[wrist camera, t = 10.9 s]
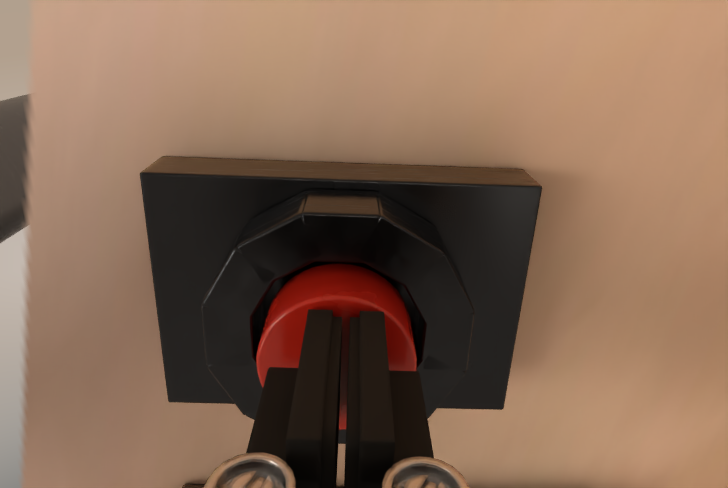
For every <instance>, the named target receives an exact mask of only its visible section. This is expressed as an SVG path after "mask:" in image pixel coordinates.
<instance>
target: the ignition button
mask: <svg viewBox="0 0 728 488" xmlns="http://www.w3.org/2000/svg"><path fill="white" fill-rule="evenodd" d="M308 309H318V310H333V316H335V317H342V341H341V377H340V412H339V430H341V429H346V418H347V389H348V360H349V331H350V317H359V314H360V311H382V312H384V316H385V328H386V340H387V352H388V364H389V370H391V371H416V368H417V357H416V350H415V344H414V339H413V333H412V328H411V322H410V317H409V312H408V309H407V306H406V304H405V302H404V300H403V298H402V296H401V295H400V293H399V292H398V291H397V289H396V288H395V287H394V286H393V285H392V284H391V283H390V282H389V281H387V280H386V279H385V278H383V277H382V276H380V275H379V274H377V273H375V272H373V271H371V270H369V269H366V268H363V267H360V266H356V265H351V264H342V263H336V264H325V265H320V266H316V267H312V268H310V269H307V270H305V271H303V272H301V273H299V274H297V275H296V276H294V277H293V278H291V279H290V280H289V281H287V282H286V283H285V284H284V285H283V286H282V287H281V288H280V290H279V291H278V292H277V294H276V295H275V297H274V299H273V301H272V302H271V305H270V308H269V311H268V314H267V318H266V321H265V324H264V328H263V331H262V335H261V338H260V342H259V345H258V350H257V355H256V366H257V373H258V377H259V380H260V383H261V385H262V387H263V386H264V382H265V379H266V375H267V371H268V368H269V367H286V368H298V366H299V360H300V354H301V348H302V343H303V337H304V331H305V325H306V319H307V314H308Z"/></svg>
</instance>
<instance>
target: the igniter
mask: <svg viewBox="0 0 728 488" xmlns="http://www.w3.org/2000/svg"><path fill="white" fill-rule="evenodd" d="M140 178H141V186H142V194H143V202H144V210H145V218H146V226H147V234H148V242H149V250H150V258H151V266H152V274H153V283H154V291H155V299H156V307H157V315H158V323H159V331H160V339H161V347H162V355H163V363H164V371H165V379H166V387H167V395H168V401H169V402H184V403H229V404H236V406H237V407H238V408H239V409H240V411H241V412H242V413H243V414H244V415H246V416H247V417H250V418H252V419H254V420H255V417H256V414H257V410H258V406H259V402H260V398H261V394H262V390H263V387H262V385H261V383H260V380H259V377H258V373H257V366H256V355H257V350H258V345H259V342H260V338H261V335H262V331H263V328H264V324H265V321H266V318H267V314H268V311H269V308H270V305H271V302H272V301H273V299H274V297H275V295H276V294H277V292H278V291H279V290H280V288H281V287H282V286H283V285H284V284H285V283H286V282H287V281H289V280H290V279H291V278H293V277H294V276H296V275H297V274H299V273H301V272H303V271H305V270H307V269H310V268H312V267H316V266H320V265H325V264H336V263H342V264H351V265H356V266H360V267H363V268H366V269H369V270H371V271H373V272H375V273H377V274H379V275H380V276H382V277H383V278H385V279H386V280H387V281H389V282H390V283H391V284H392V285H393V286H394V287H395V288H396V289H397V291H398V292H399V293H400V295H401V296H402V298H403V300H404V302H405V304H406V306H407V309H408V312H409V317H410V322H411V328H412V333H413V339H414V344H415V350H416V357H417V368H416V371H418V372H419V374H420V378H421V384H422V390H423V396H424V402H425V408H426V414H427V419H428V418H429V417H430V416H431V414H432V413H433V412H434V411H435V410H436V408H455V409H500V410H502V409H503V408H504V402H505V397H506V391H507V385H508V379H509V374H510V368H511V362H512V357H513V351H514V345H515V340H516V334H517V328H518V322H519V317H520V311H521V305H522V300H523V294H524V288H525V282H526V277H527V271H528V265H529V260H530V254H531V248H532V242H533V237H534V231H535V225H536V220H537V214H538V208H539V203H540V197H541V191H542V186H541V185H540V184H538V183H537V182H536V181H535V180H534V179H533V178H532V177H531V176H530V175H529V174H528V173H527V172H525V171H524V170H523V169H504V168H476V167H448V166H420V165H392V164H363V163H335V162H307V161H279V160H251V159H222V158H194V157H166V156H163V157H161V158H160V159H158V160H157V161H156V162H154V163H153V164H151V165H150V166H149V167H147V168H146V169H145V170H143V171H142V172H141V173H140ZM338 444H346V429H341V430H339V437H338Z"/></svg>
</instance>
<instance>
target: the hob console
mask: <svg viewBox="0 0 728 488" xmlns="http://www.w3.org/2000/svg"><path fill="white" fill-rule="evenodd" d="M204 486H205V485H183V487H182V488H204ZM336 488H342V487H336Z"/></svg>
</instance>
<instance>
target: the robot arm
mask: <svg viewBox="0 0 728 488" xmlns="http://www.w3.org/2000/svg"><path fill="white" fill-rule="evenodd" d="M341 341H342V317H335V316H333V310H318V309H308V314H307V319H306V325H305V331H304V337H303V343H302V348H301V354H300V360H299V366H298V368H286V367H269V368H268V371H267V375H266V379H265V382H264V386H263V390H262V394H261V398H260V402H259V406H258V410H257V414H256V417H255V421H254V425H253V429H252V433H251V437H250V441H249V445H248V449H247V453H246V454H242V455H238V456H236V457H233V458H231V459H229V460H227V461H225V462H224V463H223V464H221V465H220V466H219V467H217V468H216V469H215V470H214V472H213V473H212V474H211V476H210V477H209V479H208V480H207V482H206V484H205V486H204V488H336V478H337V458H338V437H339V412H340V377H341ZM344 488H469V485H468V484H467V482H466V481H465V479H464V477H463V476H462V474H460V473H459V472H458V471H457V470H456V469H455V468H454V467H453V466H451V465H449V464H447V463H445V462H443V461H441V460H438V459H434V456H433V450H432V444H431V438H430V432H429V426H428V420H427V414H426V408H425V402H424V396H423V390H422V384H421V378H420V374H419V372H418V371H391V370H389V364H388V352H387V340H386V328H385V316H384V312H382V311H360V314H359V317H350V331H349V360H348V389H347V418H346V449H345V481H344Z"/></svg>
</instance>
